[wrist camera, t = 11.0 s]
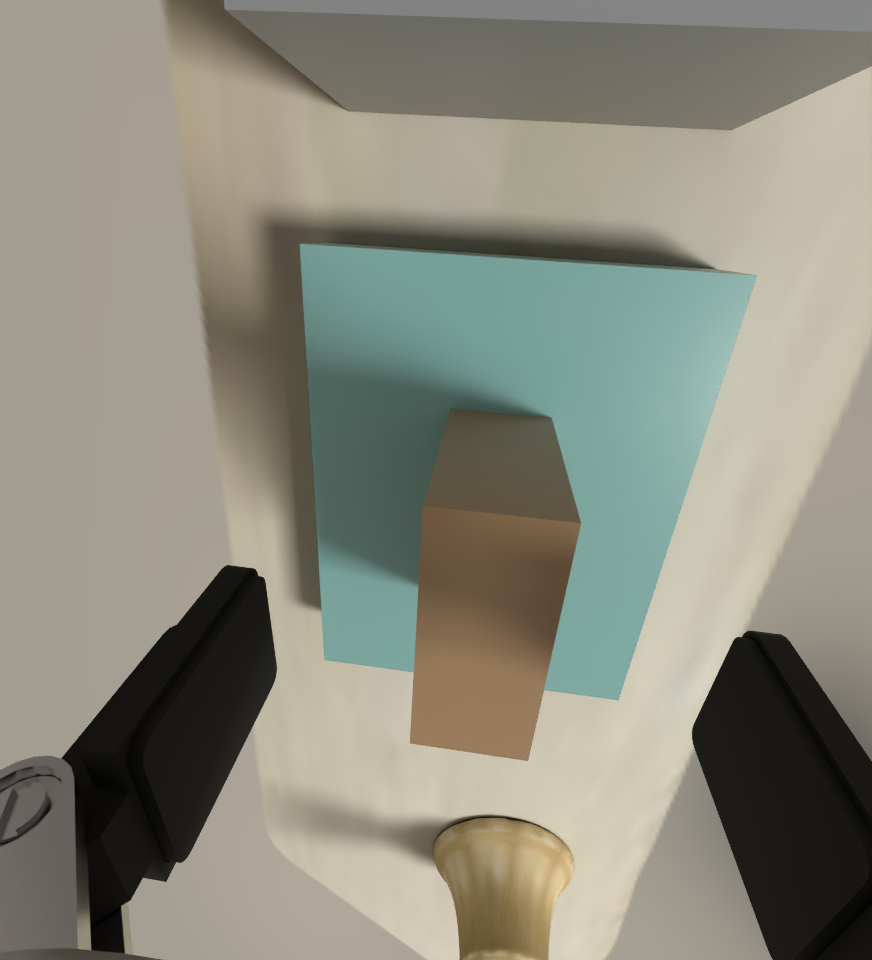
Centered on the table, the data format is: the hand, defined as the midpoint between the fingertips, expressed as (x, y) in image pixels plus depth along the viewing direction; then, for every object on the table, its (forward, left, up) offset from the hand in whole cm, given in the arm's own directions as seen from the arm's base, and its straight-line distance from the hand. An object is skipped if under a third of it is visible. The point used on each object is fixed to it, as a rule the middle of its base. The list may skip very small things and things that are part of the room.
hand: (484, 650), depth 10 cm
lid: (+1, 0, -9) cm, 9 cm away
